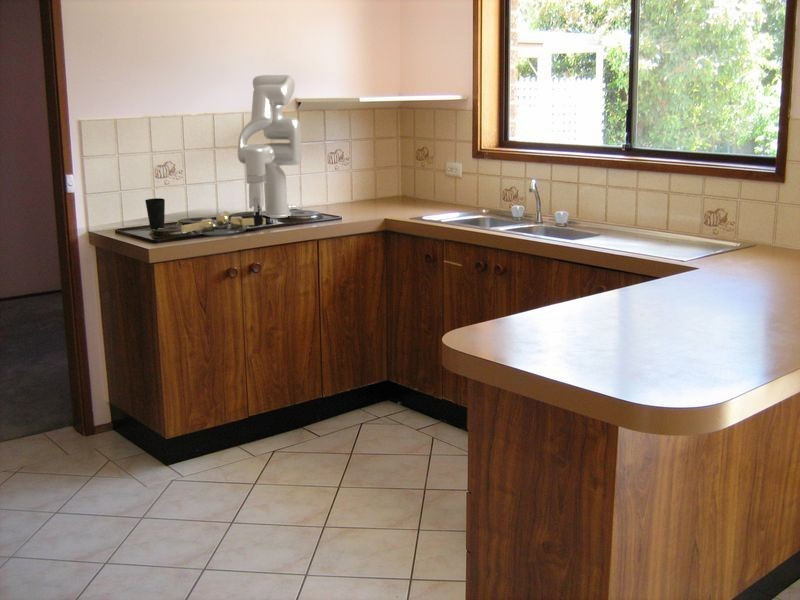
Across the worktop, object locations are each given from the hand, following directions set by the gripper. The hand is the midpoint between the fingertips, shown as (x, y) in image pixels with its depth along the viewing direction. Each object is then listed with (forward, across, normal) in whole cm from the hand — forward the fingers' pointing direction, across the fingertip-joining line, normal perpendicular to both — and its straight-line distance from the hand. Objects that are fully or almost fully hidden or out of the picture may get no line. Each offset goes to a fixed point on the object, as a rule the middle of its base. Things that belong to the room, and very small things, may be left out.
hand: (258, 224), depth 361 cm
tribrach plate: (+3, -3, -16) cm, 16 cm away
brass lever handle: (+1, -3, -4) cm, 5 cm away
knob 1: (+1, -14, -15) cm, 21 cm away
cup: (+3, -10, -42) cm, 44 cm away
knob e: (+1, +5, -23) cm, 24 cm away
